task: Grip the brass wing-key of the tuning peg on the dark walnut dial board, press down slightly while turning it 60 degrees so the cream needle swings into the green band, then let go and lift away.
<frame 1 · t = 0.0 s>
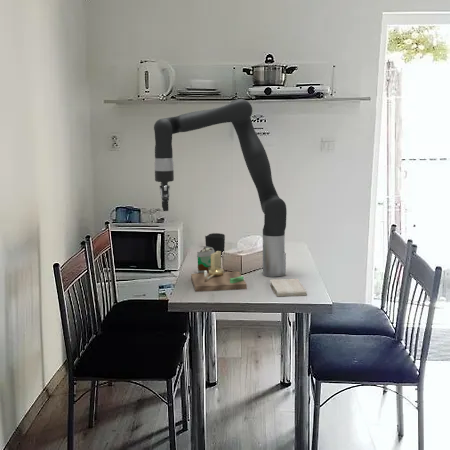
hand: (165, 209, 248), 29 cm above the table, fingers open, 8 cm apart
washcloth: (287, 291, 237), on the table
pen holder: (215, 255, 294), on the table
dial board: (218, 283, 246), on the table
food container: (207, 272, 264), on the table
tuning peg: (212, 265, 247), point 7 cm above the table, hinge at -30.0°
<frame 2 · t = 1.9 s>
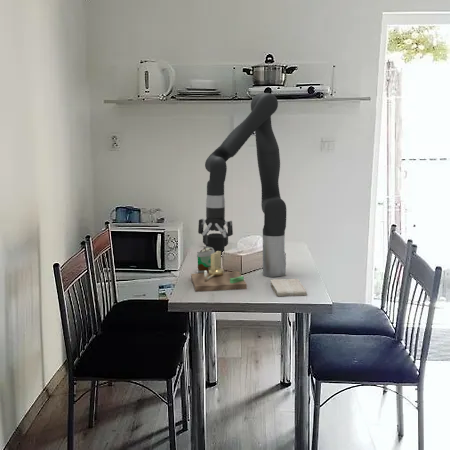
hand: (215, 245, 249), 14 cm above the table, fingers open, 8 cm apart
nothing on the table moved.
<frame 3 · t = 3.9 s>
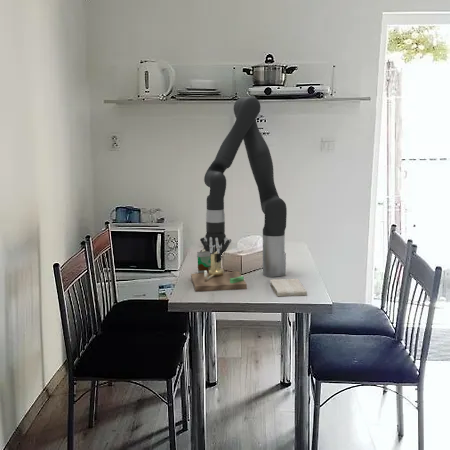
hand: (215, 261, 250), 8 cm above the table, fingers closed on tuning peg
tuning peg: (212, 265, 247), point 7 cm above the table, hinge at -30.0°, touching gripper
everything else where it was.
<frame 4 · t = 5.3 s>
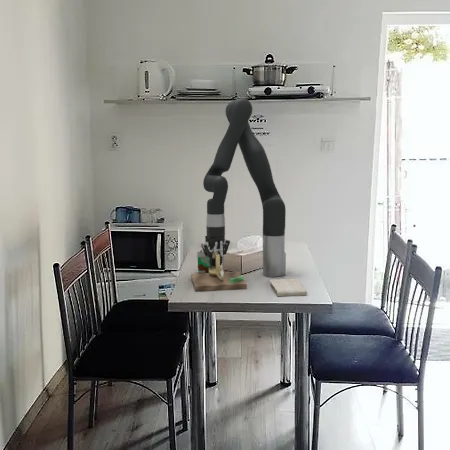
hand: (215, 265, 251), 6 cm above the table, fingers closed on tuning peg, 3 cm apart
tuning peg: (218, 265, 247), point 7 cm above the table, hinge at 6.1°, touching gripper
everything else where it was.
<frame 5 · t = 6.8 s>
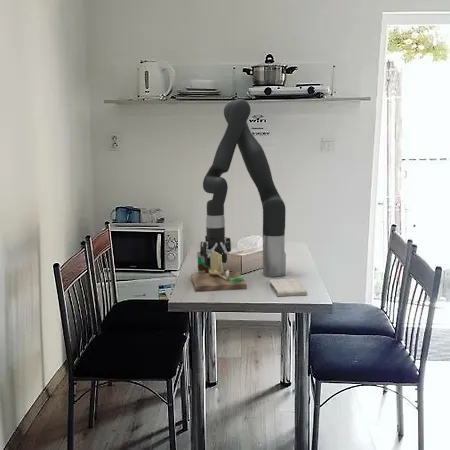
hand: (216, 264, 251), 6 cm above the table, fingers open, 8 cm apart
tuning peg: (220, 265, 247), point 7 cm above the table, hinge at 18.6°
everything else where it was.
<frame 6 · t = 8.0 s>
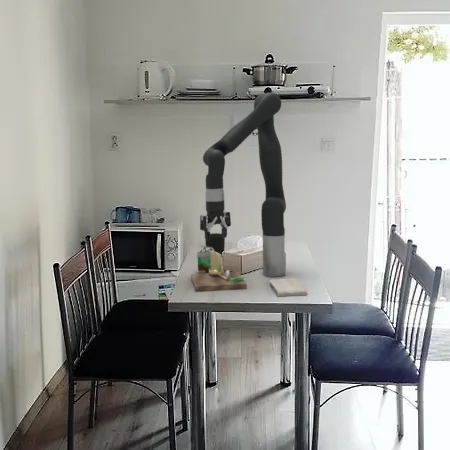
hand: (216, 238, 248), 17 cm above the table, fingers open, 8 cm apart
tuning peg: (220, 265, 247), point 7 cm above the table, hinge at 19.2°
everything else where it was.
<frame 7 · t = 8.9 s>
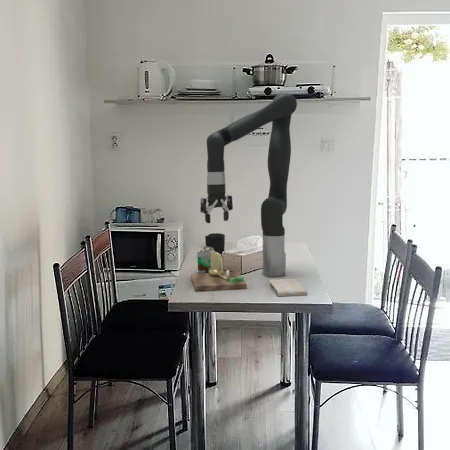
hand: (217, 221, 252), 23 cm above the table, fingers open, 8 cm apart
nothing on the table moved.
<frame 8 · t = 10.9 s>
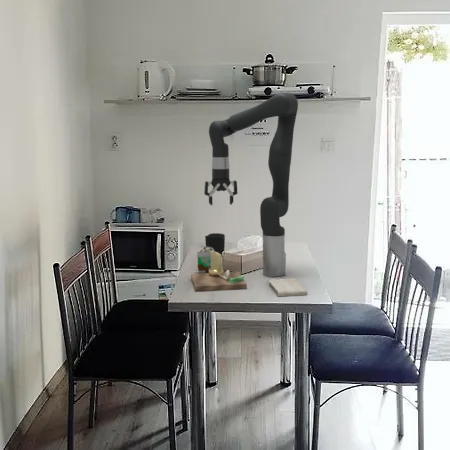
hand: (221, 204, 267), 28 cm above the table, fingers open, 8 cm apart
nothing on the table moved.
at the end: tuning peg at +19° (first picture: -30°); the gripper is holding nothing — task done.
